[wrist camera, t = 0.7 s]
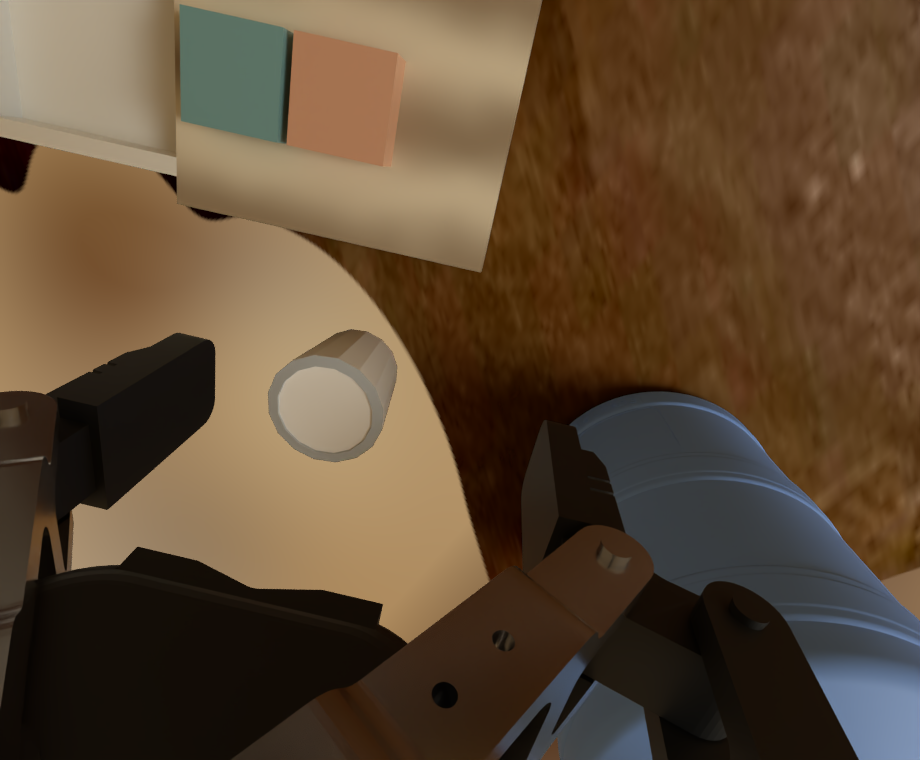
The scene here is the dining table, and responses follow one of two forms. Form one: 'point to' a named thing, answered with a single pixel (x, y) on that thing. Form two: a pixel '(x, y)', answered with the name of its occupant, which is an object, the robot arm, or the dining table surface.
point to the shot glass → (334, 396)
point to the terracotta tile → (344, 98)
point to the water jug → (748, 569)
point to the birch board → (417, 135)
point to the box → (91, 78)
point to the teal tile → (235, 74)
